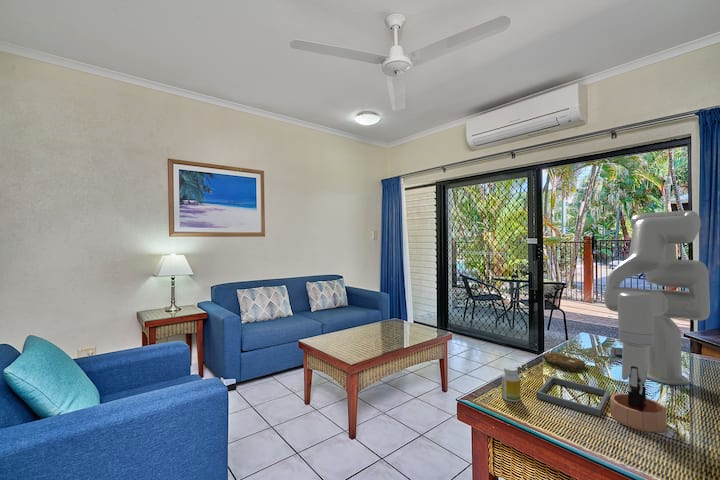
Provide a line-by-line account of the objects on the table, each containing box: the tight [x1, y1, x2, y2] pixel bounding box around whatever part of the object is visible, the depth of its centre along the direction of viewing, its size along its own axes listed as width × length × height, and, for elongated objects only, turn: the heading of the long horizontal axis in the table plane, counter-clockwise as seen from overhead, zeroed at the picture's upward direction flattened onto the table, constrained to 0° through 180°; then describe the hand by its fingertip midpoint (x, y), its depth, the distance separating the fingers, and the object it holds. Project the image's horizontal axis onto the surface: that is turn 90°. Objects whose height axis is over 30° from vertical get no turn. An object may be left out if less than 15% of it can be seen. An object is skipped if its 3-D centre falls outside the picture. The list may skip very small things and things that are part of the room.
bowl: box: [609, 392, 667, 434], centre depth 91 cm, size 12×12×5 cm
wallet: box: [609, 347, 623, 360], centre depth 140 cm, size 20×2×15 cm
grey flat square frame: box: [535, 376, 611, 417], centre depth 105 cm, size 17×17×2 cm
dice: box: [630, 401, 647, 411], centre depth 91 cm, size 4×4×4 cm
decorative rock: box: [541, 351, 586, 372], centre depth 132 cm, size 11×4×15 cm
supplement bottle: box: [501, 365, 521, 403], centre depth 105 cm, size 5×5×10 cm
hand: (637, 402), depth 91 cm, fingers open, 4 cm apart
